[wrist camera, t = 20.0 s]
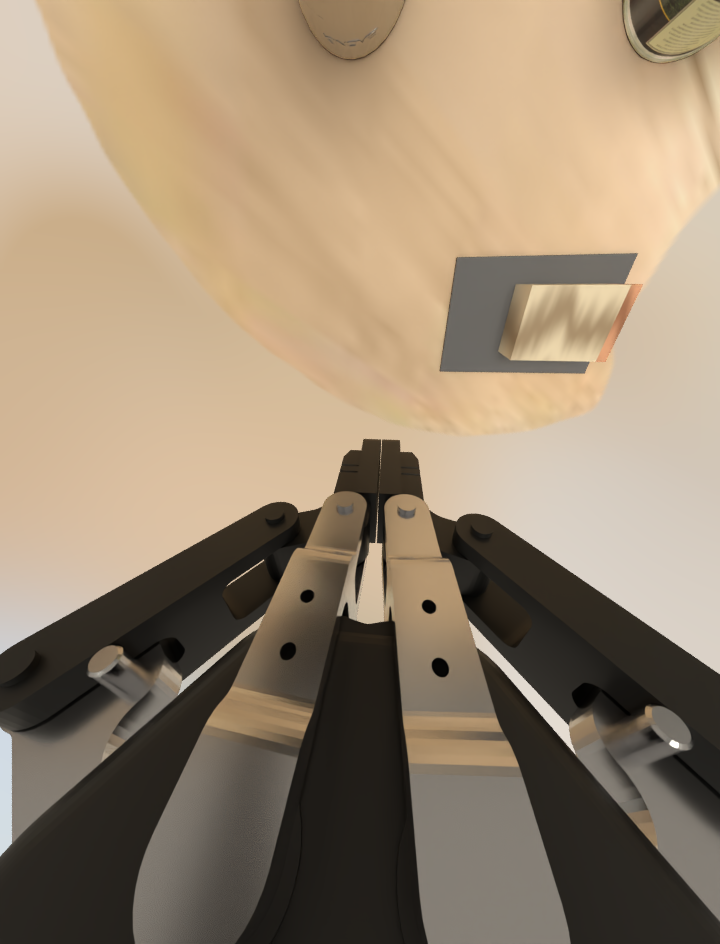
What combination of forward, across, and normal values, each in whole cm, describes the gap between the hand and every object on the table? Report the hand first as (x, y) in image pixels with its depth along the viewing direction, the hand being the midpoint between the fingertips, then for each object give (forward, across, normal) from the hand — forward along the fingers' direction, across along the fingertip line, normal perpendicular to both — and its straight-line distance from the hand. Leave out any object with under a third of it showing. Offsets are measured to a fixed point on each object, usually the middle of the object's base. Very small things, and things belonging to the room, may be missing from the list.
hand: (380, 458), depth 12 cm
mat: (+29, -16, -2) cm, 33 cm away
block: (+26, -14, -2) cm, 30 cm away
